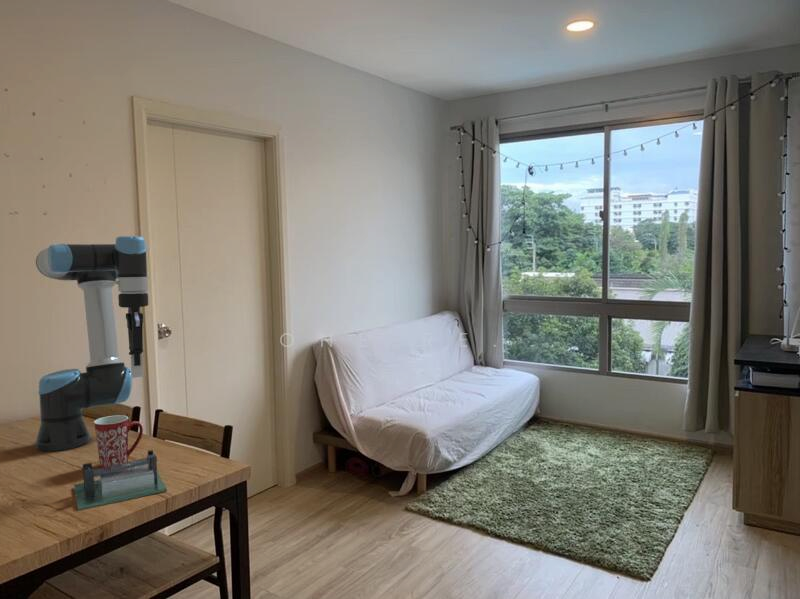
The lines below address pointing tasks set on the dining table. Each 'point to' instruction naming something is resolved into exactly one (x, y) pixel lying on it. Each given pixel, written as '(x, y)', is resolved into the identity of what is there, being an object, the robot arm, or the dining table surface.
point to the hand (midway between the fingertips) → (137, 376)
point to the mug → (114, 439)
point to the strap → (123, 466)
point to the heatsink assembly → (118, 485)
